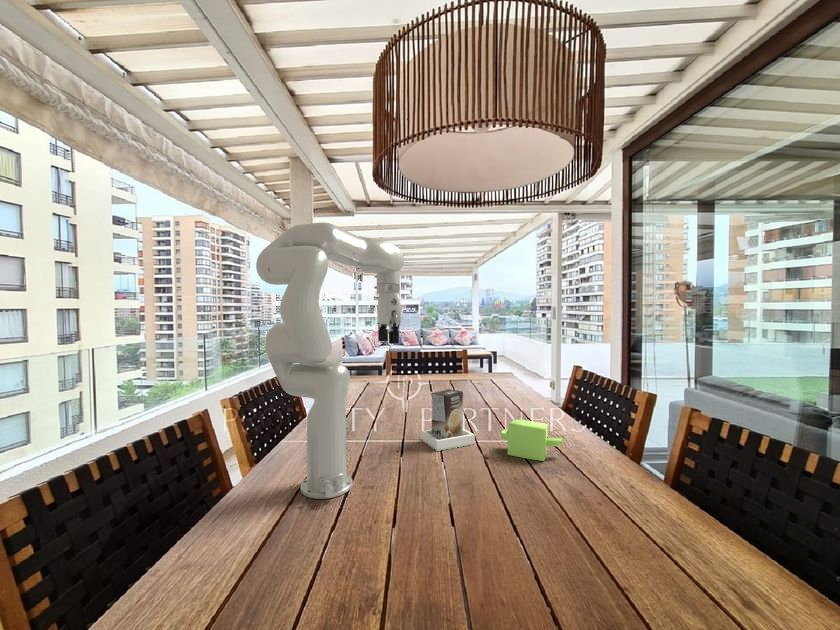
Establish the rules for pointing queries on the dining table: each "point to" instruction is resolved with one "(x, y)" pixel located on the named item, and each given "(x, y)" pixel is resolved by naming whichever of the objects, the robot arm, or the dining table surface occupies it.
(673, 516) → the dining table surface
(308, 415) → the robot arm
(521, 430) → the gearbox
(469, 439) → the locating tray
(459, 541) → the dining table surface
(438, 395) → the coffee box
